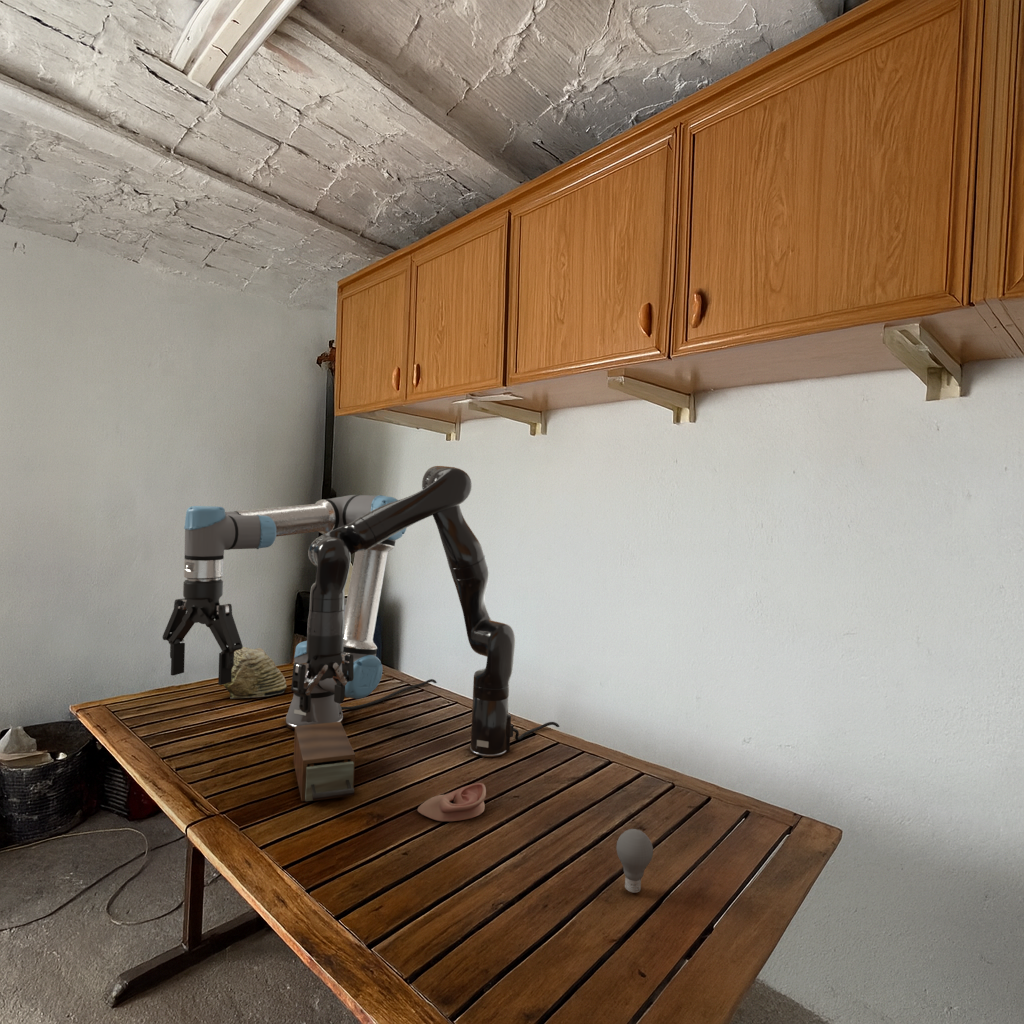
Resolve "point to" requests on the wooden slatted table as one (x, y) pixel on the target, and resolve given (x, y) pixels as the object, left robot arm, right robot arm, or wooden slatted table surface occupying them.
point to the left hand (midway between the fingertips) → (200, 678)
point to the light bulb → (634, 857)
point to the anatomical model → (456, 804)
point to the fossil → (254, 675)
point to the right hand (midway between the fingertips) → (322, 707)
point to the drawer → (329, 780)
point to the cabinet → (319, 748)
